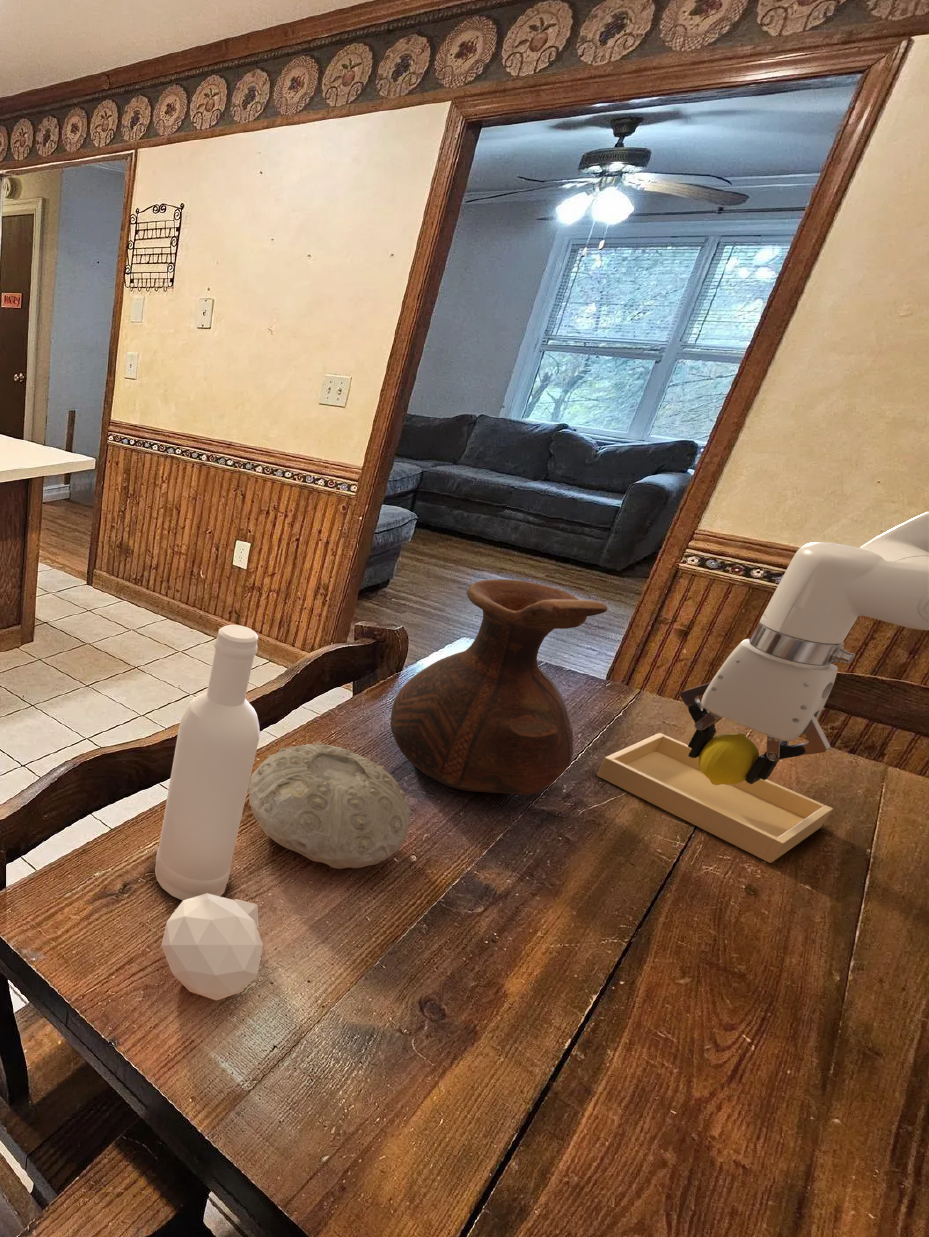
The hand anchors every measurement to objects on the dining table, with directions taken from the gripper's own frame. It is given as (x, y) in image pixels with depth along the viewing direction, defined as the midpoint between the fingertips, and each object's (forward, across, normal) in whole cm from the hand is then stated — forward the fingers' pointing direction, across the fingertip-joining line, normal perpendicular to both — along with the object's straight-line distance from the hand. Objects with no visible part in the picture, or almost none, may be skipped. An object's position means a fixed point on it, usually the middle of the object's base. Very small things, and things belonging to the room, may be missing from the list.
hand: (724, 766), depth 99 cm
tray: (+6, 0, 0) cm, 6 cm away
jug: (+6, +19, +25) cm, 32 cm away
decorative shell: (+6, +18, +55) cm, 58 cm away
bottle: (+6, +19, +74) cm, 77 cm away
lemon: (+3, 0, 0) cm, 3 cm away
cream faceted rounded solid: (+6, +8, +80) cm, 81 cm away
